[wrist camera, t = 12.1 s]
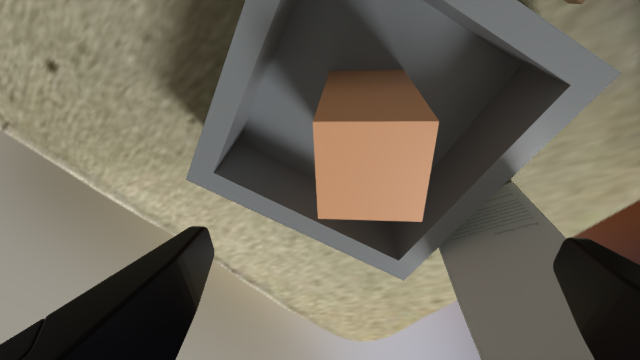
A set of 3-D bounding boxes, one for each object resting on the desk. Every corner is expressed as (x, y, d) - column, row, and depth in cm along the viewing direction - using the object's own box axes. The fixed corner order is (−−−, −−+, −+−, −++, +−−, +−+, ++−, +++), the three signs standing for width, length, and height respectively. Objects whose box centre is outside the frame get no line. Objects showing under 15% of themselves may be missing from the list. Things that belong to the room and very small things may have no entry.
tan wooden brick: (403, 69, 16) (439, 121, 10) (397, 138, 18) (422, 221, 12) (329, 70, 17) (312, 121, 10) (330, 138, 19) (317, 218, 12)
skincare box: (439, 247, 24) (506, 444, 13) (422, 204, 22) (483, 394, 11) (526, 224, 22) (684, 431, 11) (515, 174, 20) (693, 368, 9)
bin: (549, 52, 16) (621, 72, 12) (394, 227, 23) (403, 280, 19) (314, -107, 14) (296, -155, 9) (220, 141, 21) (185, 179, 16)
